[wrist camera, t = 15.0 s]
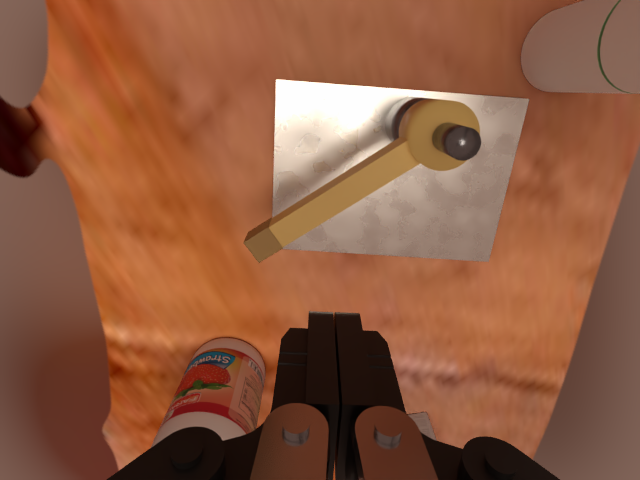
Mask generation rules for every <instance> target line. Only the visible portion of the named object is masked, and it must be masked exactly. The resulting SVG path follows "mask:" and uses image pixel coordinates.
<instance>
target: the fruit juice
mask: <svg viewBox="0 0 640 480" xmlns="http://www.w3.org/2000/svg"><path fill="white" fill-rule="evenodd" d="M264 381H265V365H264V362H263V359H262V357H261V355H260V354H259V353H258V351H257V350H256V349H255V348H254V347H252V346H251V345H250V344H248V343H246V342H244V341H241V340H238V339H234V338H219V339H215V340H212V341H209V342H207V343H206V344H204V345H203V346H201V347H200V348H199V349H198V350H197V351H196V353H195V354H194V356H193V357H192V359H191V361H190V363H189V366H188V368H187V370H186V372H185V374H184V376H183V378H182V381H181V383H180V385H179V387H178V389H177V391H176V394H175V396H174V398H173V400H172V402H171V405H170V407H169V409H168V411H167V413H166V415H165V418H164V420H163V422H162V424H161V426H160V428H159V430H158V432H157V434H156V436H155V439H154V441H153V444H152V446H151V448H152V447H153V446H154V445H156V444H157V443H158V442H160V441H161V440H163V439H164V438H165V437H167V436H168V435H170V434H172V433H173V432H175V431H178V430H180V429H183V428H187V427H195V426H198V427H205V428H209V429H211V430H213V431H215V432H216V433H217V434H218V435H219V436H220V437H221V439H222V440H223V441H224V440H227V439H231V438H235V437H239V436H242V435H245V434H248V433H250V432H252V431H254V430H255V429H256V426H257V421H258V415H259V409H260V404H261V398H262V393H263V387H264Z"/></svg>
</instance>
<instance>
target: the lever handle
mask: <svg viewBox="0 0 640 480" xmlns="http://www.w3.org/2000/svg"><path fill="white" fill-rule="evenodd" d="M447 122H450V123H455V124H459V125H462V126H466V127H470V128H473V129H475V130H476V131H477V132H478V133H479V135H480V126H479V122H478V119H477V117H476V115H475V113H474V112H473V111H472V110H471V109H470V108H469V107H468V106H467V105H465V104H463V103H461V102H458V101H452V100H441V99H425V100H422V101H419V102H417V103H415V104H414V105H413V106H411V107H410V108H409V109H408V110H407V111H406V113H405V114H404V116H403V118H402V120H401V122H400V126H399V138H398V139H396V140H395V141H393V142H391V143H390V144H388V145H387V146H385V147H383V148H382V149H380V150H379V151H377V152H376V153H374V154H372V155H371V156H369V157H368V158H366V159H364V160H363V161H361V162H360V163H358V164H357V165H355V166H353V167H352V168H350V169H349V170H347V171H346V172H344V173H342V174H341V175H339V176H338V177H336V178H334V179H333V180H331V181H330V182H328V183H327V184H325V185H323V186H322V187H320V188H319V189H317V190H315V191H314V192H312V193H311V194H309V195H308V196H306V197H304V198H303V199H301V200H300V201H298V202H296V203H295V204H293V205H292V206H290V207H289V208H287V209H285V210H284V211H282V212H281V213H279V214H277V215H276V216H274V217H273V218H270V219H268V220H267V221H265V222H264V223H262V224H260V225H259V226H257V227H256V228H254V229H252V230H251V231H249V232H248V234H247V236H246V238H245V241H244V244H245V245H246V247H247V248H248V249H249V251H250V252H251V253H252V254H253V256H254V257H255V258H256V260H257V261H258V262H259V263H260V262H261V261H263V260H265V259H266V258H268V257H269V256H271V255H273V254H274V253H276V252H278V251H279V250H281V249H283V247H284V246H286V245H288V244H289V243H291V242H293V241H294V240H296V239H297V238H299V237H301V236H302V235H304V234H306V233H307V232H309V231H311V230H312V229H314V228H315V227H317V226H319V225H320V224H322V223H324V222H325V221H327V220H329V219H330V218H332V217H334V216H335V215H337V214H338V213H340V212H342V211H343V210H345V209H347V208H348V207H350V206H352V205H353V204H355V203H356V202H358V201H360V200H361V199H363V198H365V197H366V196H368V195H370V194H371V193H373V192H374V191H376V190H378V189H379V188H381V187H383V186H384V185H386V184H388V183H389V182H391V181H392V180H394V179H396V178H397V177H399V176H401V175H402V174H404V173H406V172H407V171H409V170H411V169H412V168H414V167H415V166H417V165H419V164H420V163H421V164H422V165H424V166H425V167H427V168H429V169H432V170H436V171H448V170H452V169H454V168H457V167H459V166H460V165H462V164H463V163H465V162H466V161H467V160H465V161H460V160H456V159H454V158H452V157H451V156H449V155H447V154H445V153H443V152H441V151H439V150H437V149H436V148H435V146H434V145H433V141H432V136H433V133H434V131H435V129H436V128H437V127H438V126H439V125H441V124H443V123H447Z"/></svg>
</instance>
